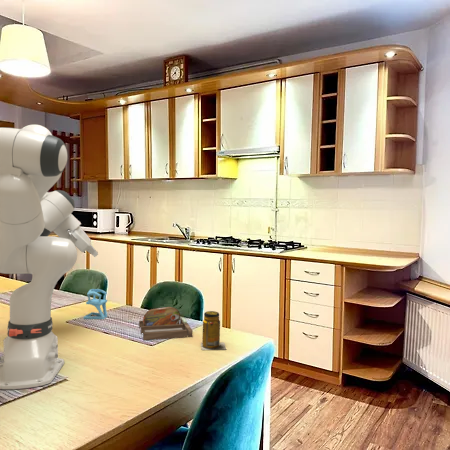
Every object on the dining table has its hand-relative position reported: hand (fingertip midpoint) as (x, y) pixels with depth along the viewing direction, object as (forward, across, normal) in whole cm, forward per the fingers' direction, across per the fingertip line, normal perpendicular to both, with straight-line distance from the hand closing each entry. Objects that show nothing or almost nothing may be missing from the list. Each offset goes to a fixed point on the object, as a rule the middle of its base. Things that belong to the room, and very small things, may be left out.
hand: (96, 255), depth 156 cm
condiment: (+49, -23, -7) cm, 54 cm away
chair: (+21, +21, +21) cm, 36 cm away
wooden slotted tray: (+38, -4, +4) cm, 38 cm away
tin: (+38, 0, +4) cm, 39 cm away
